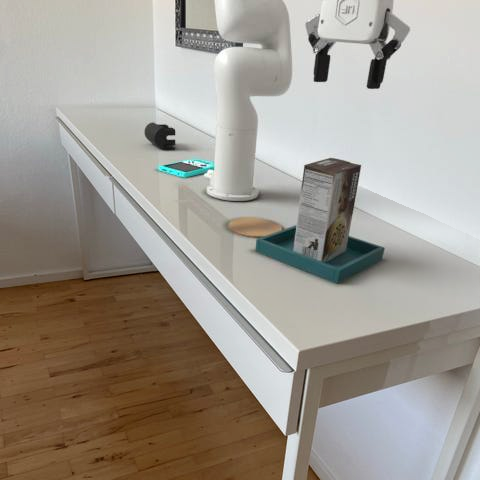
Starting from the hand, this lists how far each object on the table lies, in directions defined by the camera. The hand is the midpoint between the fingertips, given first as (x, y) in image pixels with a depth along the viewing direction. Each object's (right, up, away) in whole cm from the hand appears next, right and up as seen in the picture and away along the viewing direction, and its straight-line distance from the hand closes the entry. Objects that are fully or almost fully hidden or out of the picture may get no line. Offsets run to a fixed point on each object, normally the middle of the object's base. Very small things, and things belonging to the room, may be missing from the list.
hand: (345, 85), depth 80 cm
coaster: (-14, -18, +23) cm, 33 cm away
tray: (-2, -26, +13) cm, 29 cm away
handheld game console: (-31, +5, +61) cm, 68 cm away
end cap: (-43, +19, +84) cm, 96 cm away
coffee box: (-2, -25, +12) cm, 28 cm away
